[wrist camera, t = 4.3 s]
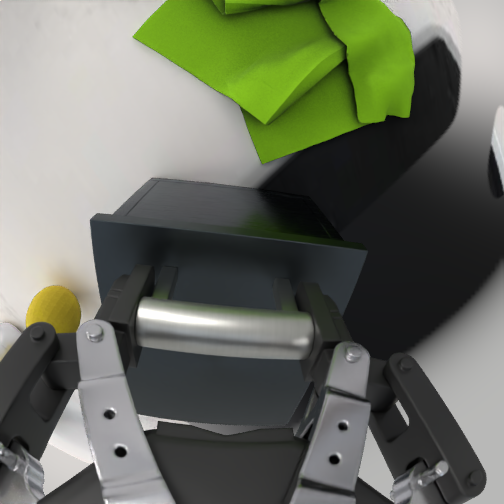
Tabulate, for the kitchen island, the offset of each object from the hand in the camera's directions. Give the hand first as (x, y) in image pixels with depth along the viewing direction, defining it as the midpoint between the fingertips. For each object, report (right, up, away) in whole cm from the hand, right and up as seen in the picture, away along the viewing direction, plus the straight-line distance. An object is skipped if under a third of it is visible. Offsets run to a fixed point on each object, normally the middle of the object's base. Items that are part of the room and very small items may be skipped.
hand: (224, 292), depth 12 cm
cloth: (+4, +18, +4) cm, 19 cm away
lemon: (-18, -3, +14) cm, 23 cm away
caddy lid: (-1, -4, +4) cm, 6 cm away
